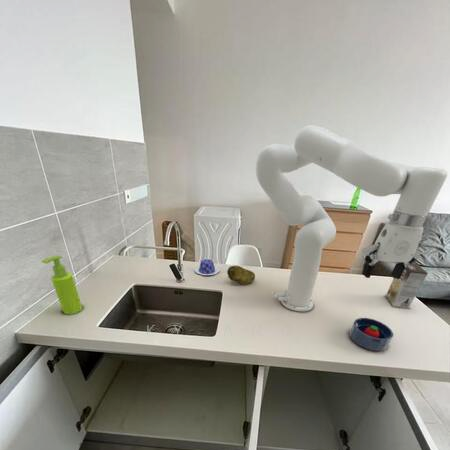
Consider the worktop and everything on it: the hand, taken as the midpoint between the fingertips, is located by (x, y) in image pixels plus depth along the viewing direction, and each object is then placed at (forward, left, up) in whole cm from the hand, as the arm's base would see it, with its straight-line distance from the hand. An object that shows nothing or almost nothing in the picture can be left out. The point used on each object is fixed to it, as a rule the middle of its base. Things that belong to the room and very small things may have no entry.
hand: (380, 276), depth 74 cm
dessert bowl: (0, -6, -20) cm, 21 cm away
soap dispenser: (-100, +14, -21) cm, 103 cm away
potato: (-36, +35, -21) cm, 54 cm away
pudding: (-51, +47, -21) cm, 73 cm away
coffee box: (+28, +17, -21) cm, 39 cm away
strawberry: (0, -6, -20) cm, 21 cm away
